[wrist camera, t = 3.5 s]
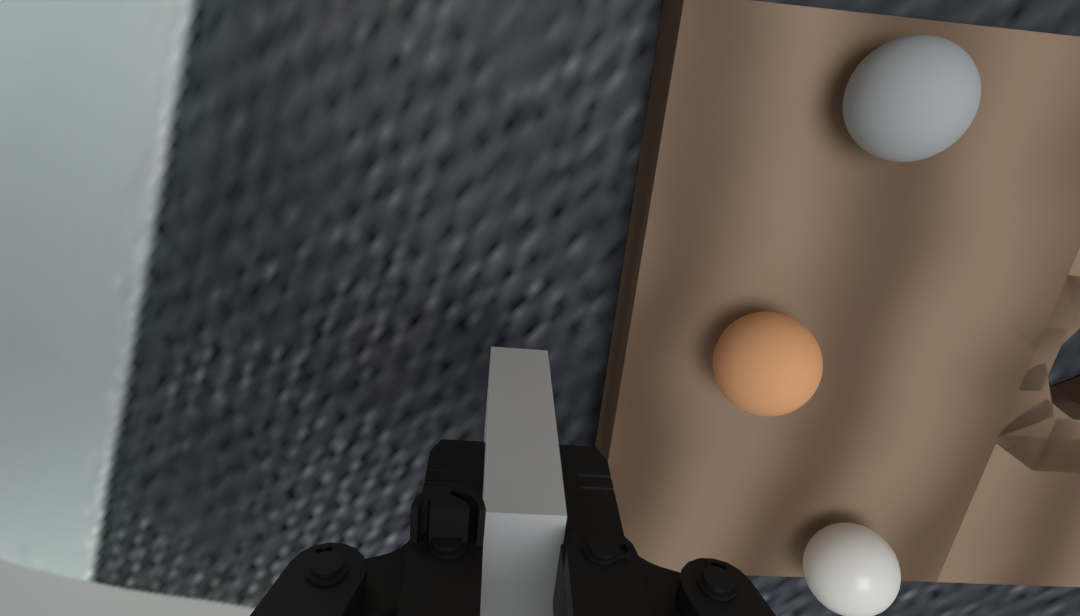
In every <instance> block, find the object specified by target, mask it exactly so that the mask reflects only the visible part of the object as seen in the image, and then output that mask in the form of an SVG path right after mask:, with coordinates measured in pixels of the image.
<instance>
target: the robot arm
mask: <svg viewBox="0 0 1080 616" xmlns="http://www.w3.org/2000/svg"><path fill="white" fill-rule="evenodd" d="M553 614H554V616H776V615H775V614H774V612H773V611H772V610H771V608H770V607H769V605H768V604H767V603H766V601H765V600H764V599H763V597H762V596H761V595H760V593H759V592H758V590H757V589H756V588H755V586H754V585H753V584H752V582H751V581H750V580H749V579H748V578H747V577H746V576H745V575H744V574H743V573H742V572H741V571H740V570H739V569H738V568H736V567H734V566H732V565H731V564H729V563H727V562H724V561H721V560H717V559H714V558H698V559H695V560H692V561H689V562H688V563H687V564H686V565H685V566H684V567H683V568H682V569H681V573H680V572H677V571H673V570H670V569H667V568H663V567H660V566H657V565H655V564H652V563H650V562H648V561H646V560H645V559H643V558H641V557H640V556H639V555H638V553H637V551H636V549H635V547H634V545H633V543H632V542H630V541H629V540H628V539H627V538H626V537H625V536H624V532H623V528H622V523H621V519H620V514H619V510H618V505H617V501H616V496H615V492H614V487H613V483H612V479H611V474H610V469H609V465H608V461H607V460H606V458H605V457H604V456H603V455H602V454H601V452H600V451H599V450H598V449H597V448H596V447H590V446H573V445H559V443H558V434H557V426H556V417H555V409H554V400H553V392H552V383H551V375H550V366H549V358H548V351H547V350H532V349H518V348H503V347H491V355H490V367H489V380H488V393H487V406H486V419H485V432H484V442H477V441H460V440H441V441H440V442H439V443H438V444H437V445H436V446H435V447H434V448H433V449H432V451H431V452H430V455H429V460H428V466H427V471H426V477H425V483H424V488H423V492H422V493H420V494H419V495H418V496H417V497H416V498H415V499H414V501H413V503H412V505H411V526H410V540H409V541H408V542H407V543H406V544H405V545H404V546H402V547H401V548H399V549H397V550H395V551H393V552H391V553H388V554H385V555H381V556H377V557H372V558H367V559H365V558H364V556H363V555H362V554H361V553H360V552H359V551H358V550H357V549H356V548H354V547H351V546H349V545H346V544H342V543H325V544H320V545H314V546H312V547H310V548H308V549H306V550H304V551H302V552H300V553H299V554H298V555H297V556H296V557H295V558H294V559H293V560H292V561H291V562H290V563H289V564H288V566H287V567H286V568H285V570H284V571H283V572H282V574H281V575H280V576H279V578H278V579H277V580H276V582H275V583H274V584H273V586H272V587H271V588H270V590H269V591H268V592H267V594H266V595H265V596H264V598H263V599H262V600H261V602H260V603H259V604H258V606H257V607H256V608H255V610H254V611H253V612H252V614H251V615H250V616H553Z"/></svg>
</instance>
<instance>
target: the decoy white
mask: <svg viewBox="0 0 1080 616" xmlns="http://www.w3.org/2000/svg"><path fill="white" fill-rule="evenodd" d="M803 571H804V575H805V579H806V582H807V584H808V586H809V588H810V590H811V591H812V593H813V594H814V595H815V597H816V598H817V599H818V600H819V601H820V602H821V603H822V604H823V605H824V606H826V607H827V608H829V609H830V610H832V611H833V612H836V613H838V614H840V615H843V616H875V615H877V614H879V613H881V612H883V611H884V610H886V609H887V608H888V607H889V606H890V605H891V604H892V602H893V601H894V600H895V598H896V596H897V594H898V592H899V589H900V583H901V571H900V566H899V562H898V560H897V557H896V555H895V553H894V551H893V550H892V548H891V547H890V545H889V544H888V543H887V542H886V541H885V540H884V539H883V538H882V537H881V536H880V535H879V534H877V533H876V532H874V531H873V530H871V529H869V528H867V527H865V526H862V525H859V524H855V523H848V522H847V523H835V524H831V525H828V526H826V527H824V528H822V529H820V530H819V531H818V532H816V533H815V534H814V535H813V536H812V538H811V539H810V540H809V542H808V544H807V546H806V548H805V551H804V555H803Z"/></svg>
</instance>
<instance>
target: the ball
mask: <svg viewBox="0 0 1080 616" xmlns="http://www.w3.org/2000/svg"><path fill="white" fill-rule="evenodd" d="M713 371H714V376H715V379H716V382H717V384H718V386H719V388H720V390H721V391H722V393H723V394H724V395H725V397H726V398H727V399H728V400H729V401H730V402H732V403H733V404H734V405H735V406H737V407H738V408H740V409H742V410H744V411H746V412H748V413H751V414H755V415H759V416H780V415H784V414H787V413H790V412H792V411H795V410H796V409H798V408H800V407H801V406H803V405H804V404H805V403H806V402H807V401H808V400H809V399H810V398H811V397H812V396H813V394H814V393H815V392H816V390H817V388H818V386H819V383H820V381H821V377H822V371H823V359H822V354H821V350H820V347H819V345H818V342H817V340H816V339H815V337H814V336H813V334H812V333H811V332H810V331H809V330H808V328H806V327H805V326H804V325H803V324H802V323H801V322H799V321H798V320H796V319H794V318H792V317H790V316H788V315H785V314H782V313H777V312H770V311H764V312H755V313H751V314H748V315H745V316H743V317H741V318H739V319H737V320H736V321H734V322H733V323H732V324H730V325H729V326H728V327H727V328H726V329H725V330H724V332H723V333H722V334H721V336H720V338H719V339H718V342H717V344H716V346H715V349H714V354H713Z"/></svg>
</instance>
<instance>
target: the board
mask: <svg viewBox="0 0 1080 616" xmlns="http://www.w3.org/2000/svg"><path fill="white" fill-rule="evenodd" d="M919 34H923V35H933V36H938V37H942V38H945V39H948V40H950V41H952V42H953V43H955V44H957V45H959V46H960V47H961V48H962V49H964V50H965V51H966V52H967V54H968V55H969V56H970V57H971V58H972V60H973V61H974V63H975V65H976V67H977V70H978V72H979V76H980V80H981V98H980V104H979V107H978V110H977V113H976V115H975V117H974V119H973V121H972V123H971V125H970V126H969V128H968V129H967V130H966V131H965V133H964V134H963V135H962V136H961V137H960V138H959V139H958V140H957V141H956V142H955V143H954V144H952V145H951V146H950V147H948V148H947V149H945V150H944V151H942V152H940V153H938V154H936V155H934V156H931V157H928V158H925V159H921V160H917V161H911V162H894V161H888V160H884V159H881V158H878V157H875V156H873V155H871V154H870V153H868V152H866V151H865V150H864V149H862V148H861V147H860V146H859V145H858V144H857V143H856V142H855V141H854V139H853V138H852V137H851V135H850V133H849V131H848V129H847V127H846V124H845V121H844V117H843V98H844V93H845V89H846V86H847V83H848V81H849V79H850V77H851V75H852V74H853V72H854V70H855V69H856V68H857V66H858V65H859V64H860V62H861V61H862V60H863V59H864V58H865V57H866V56H867V55H869V54H870V53H871V52H872V51H874V50H875V49H877V48H878V47H880V46H881V45H883V44H885V43H887V42H889V41H892V40H894V39H897V38H900V37H904V36H909V35H919ZM764 311H770V312H777V313H782V314H785V315H788V316H790V317H792V318H794V319H796V320H798V321H799V322H801V323H802V324H803V325H804V326H805V327H806V328H808V330H809V331H810V332H811V333H812V334H813V336H814V337H815V339H816V340H817V342H818V345H819V347H820V350H821V354H822V359H823V371H822V377H821V381H820V383H819V386H818V388H817V390H816V392H815V393H814V394H813V396H812V397H811V398H810V399H809V400H808V401H807V402H806V403H805V404H804V405H803V406H801V407H800V408H798V409H796V410H795V411H792V412H790V413H787V414H784V415H780V416H759V415H755V414H751V413H748V412H746V411H744V410H742V409H740V408H738V407H737V406H735V405H734V404H733V403H732V402H730V401H729V400H728V399H727V398H726V397H725V395H724V394H723V393H722V391H721V390H720V388H719V386H718V384H717V382H716V379H715V376H714V371H713V354H714V349H715V346H716V344H717V342H718V339H719V338H720V336H721V334H722V333H723V332H724V330H725V329H726V328H727V327H728V326H729V325H730V324H732V323H733V322H734V321H736V320H737V319H739V318H741V317H743V316H745V315H748V314H751V313H755V312H764ZM1079 328H1080V37H1078V36H1069V35H1060V34H1051V33H1042V32H1033V31H1024V30H1015V29H1006V28H996V27H987V26H978V25H969V24H960V23H951V22H942V21H933V20H924V19H915V18H906V17H897V16H888V15H879V14H870V13H861V12H852V11H843V10H834V9H825V8H816V7H807V6H798V5H789V4H780V3H771V2H761V1H752V0H664V2H663V9H662V15H661V21H660V28H659V34H658V41H657V47H656V54H655V60H654V67H653V73H652V80H651V86H650V93H649V99H648V106H647V112H646V119H645V125H644V132H643V138H642V145H641V151H640V158H639V164H638V171H637V177H636V184H635V190H634V197H633V203H632V210H631V216H630V222H629V229H628V235H627V242H626V248H625V255H624V261H623V268H622V274H621V281H620V287H619V294H618V300H617V307H616V313H615V320H614V326H613V333H612V339H611V346H610V352H609V359H608V365H607V372H606V378H605V385H604V391H603V398H602V404H601V411H600V417H599V424H598V430H597V436H596V443H595V447H596V448H597V449H598V450H599V451H600V452H601V454H602V455H603V456H604V457H605V458H606V460H607V461H608V465H609V469H610V474H611V479H612V483H613V487H614V492H615V496H616V501H617V505H618V510H619V514H620V519H621V523H622V528H623V532H624V536H625V537H626V538H627V539H628V540H629V541H630V542H632V543H633V545H634V547H635V549H636V551H637V553H638V555H639V556H640V557H641V558H643V559H645V560H646V561H648V562H650V563H652V564H655V565H657V566H660V567H663V568H667V569H670V570H673V571H677V572H680V573H681V569H682V568H683V567H684V566H685V565H686V564H687V563H688V562H689V561H692V560H695V559H698V558H714V559H717V560H721V561H724V562H727V563H729V564H731V565H732V566H734V567H736V568H738V569H739V570H740V571H741V572H742V573H743V574H744V575H757V576H785V577H805V575H804V571H803V555H804V551H805V548H806V546H807V544H808V542H809V540H810V539H811V538H812V536H813V535H814V534H815V533H816V532H818V531H819V530H820V529H822V528H824V527H826V526H828V525H831V524H835V523H847V522H848V523H855V524H859V525H862V526H865V527H867V528H869V529H871V530H873V531H874V532H876V533H877V534H879V535H880V536H881V537H882V538H883V539H884V540H885V541H886V542H887V543H888V544H889V545H890V547H891V548H892V550H893V551H894V553H895V555H896V557H897V560H898V562H899V566H900V571H901V581H923V582H951V583H979V584H1006V585H1034V586H1062V587H1080V376H1078V377H1075V378H1072V379H1070V380H1067V381H1065V382H1062V383H1059V384H1057V385H1054V386H1049V382H1048V374H1049V372H1050V370H1051V367H1052V365H1053V363H1054V361H1055V358H1056V356H1057V354H1058V352H1059V349H1060V347H1061V345H1062V344H1063V343H1064V342H1065V341H1066V340H1067V339H1068V338H1070V337H1071V336H1072V335H1073V334H1074V333H1075V332H1076V331H1077V330H1078V329H1079Z"/></svg>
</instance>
